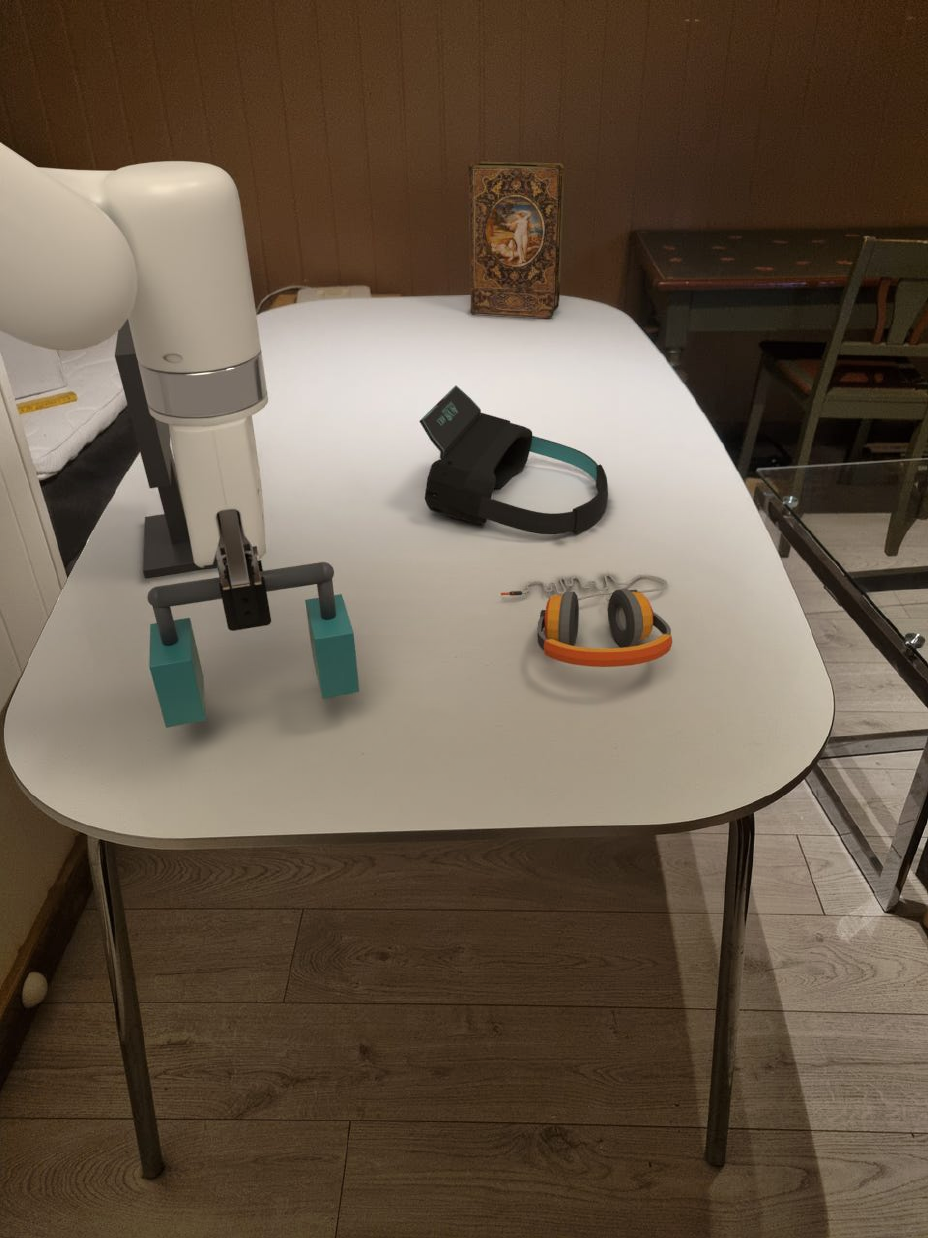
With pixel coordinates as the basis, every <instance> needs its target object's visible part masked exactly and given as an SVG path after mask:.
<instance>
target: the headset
mask: <svg viewBox="0 0 928 1238" xmlns="http://www.w3.org/2000/svg"><path fill="white" fill-rule="evenodd" d="M334 576H335V570H334V567H333V565H332V564H330V563H329V562H326V561H319V562H312V563H307V564H300V565H292V566H286V567H279V568H273V569H272V568H271V569H266V570H265V569H264V570H263V571H260V577H264V579H265V585H266V591H267V593H268V592H274V591H275V592H276V591H282V590H289V589H295V588H301V587H307V586H315V585H316V587H317V594H318V595H317V596H318V597H314V598H313V597H312V598H308V599H306V598H305V600H304V603H305V610H306V617H307V624H308V631H309V639H310V640H309V641H310V646H311V653H312V660H313V664H314V670H315V673H316V677H317V682H318V687H319V691H320V695H321V699H322V700H325V699H330V698H336V697H341V696H346V695H351V694H358V693H360V685H359V674H358V663H357V654H356V653H357V652H356V643H355V633H354V629H353V626H352V623H351V619H350V616H349V613H348V610H347V607H346V603H345V600H344V597H343V594H342V593H339V594H335V593H334V592H335V590H334V581H333V578H334ZM219 583H222V582H221V577H219V576H218V577H211V578H206V579H205V578H204V579H198V580H192V581H184V582H178V583H171V584H164V585H159V586H158V585H157V586H154V587H152V588H150V590H149V591H148V593H147V596H146V599H147V601H148V604H149V605H150V606H151V607H152V611H153V614H154V618H155V622H154V623H150V625H149V653H148V654H149V658H148V659H149V660H148V668H149V671H150V674H151V675H150V676H151V678H152V682H153V686H154V689H155V693H156V696H157V700H158V704H159V707H160V711H161V715H162V718H163V722H164V725H165V728H166V729H168V728H174V727H178V726H183V725H184V726H185V725H188V724H195V723H200V722H206V721H207V711H206V710H207V709H206V694H205V693H206V692H205V676H204V672H203V668H202V665H201V658H200V655H199V651H198V646H197V641H196V638H195V633H194V629H193V625H192V620H191V618H190V617H186V618H179V619H174V616H173V612H172V608H171V607H178V606H184V605H190V604H197V603H198V604H199V603H204V602H209V601H217V600H222V597H221V592H220V587H219Z"/></svg>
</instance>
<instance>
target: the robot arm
mask: <svg viewBox="0 0 928 1238" xmlns="http://www.w3.org/2000/svg"><path fill="white" fill-rule="evenodd" d="M241 206H242V205H241V200H240V196H239V190H238V188H237V185H236V183H235V181H234V179H233V178H232V177H231V175H230V174H229V173H228V172H227V171H226V170H224V169H223V168H221V167H219V166H217V165H214V164H212V163H207V162H199V161H190V160H189V161H188V160H169V161H168V160H166V161H153V162H144V163H137V164H131V165H126V166H123V167H122V166H121V167H120V168H117V169H116V170H98V169H97V170H93V169H92V170H91V169H69V168H67V169H66V168H53V167H41V166H40V167H39V166H36V165H35V164H33V163H32V162H30V161H29V160H27V159H26V158H25V157H23V156H21V155H20V154H18V153H17V152H16V151H14V150H12V148H10V147H8V146H7V145H5V144H3V143H2V142H1V141H0V332H2V333H4V334H6V335H9V336H10V337H12V338H15V339H16V340H19V341H21V342H23V343H26V344H29V345H32V346H35V347H39V348H44V349H47V350H54V351H65V352H70V351H79V350H85V349H88V348H92V347H95V346H98V345H100V344H102V343H103V342H105V341H107V340H109V339H110V338H112V337H113V336H114V335H116V333H118V330H120V329H121V327H122V326H123V325H124V323H125V322H126V321H127V319H128V321H129V325H130V330H131V334H132V338H133V343H134V347H135V351H136V356H137V360H138V364H139V369H140V373H141V378H142V382H143V386H144V391H145V395H146V399H147V403H148V408H149V412H150V414H151V416H152V417H154V418H155V419H156V420H159V421H161V422H164V423H167V424H169V431H170V446H171V450H172V454H173V459H174V463H175V468H176V473H177V478H178V483H179V488H180V493H181V498H182V502H183V507H184V512H185V517H186V522H187V527H188V532H189V537H190V543H191V548H192V553H193V559H194V563H195V564H196V565H197V566H199V567H201V568H204V566H206V565H213V562H214V559H215V555H216V559H217V563H218V567H217V571H218V577H221V582H222V583H219V587H220V592H221V597H222V599H221V601H222V605H223V611H224V615H225V621H226V626H227V629H228V630H229V631H232V632H234V631H236V632H237V631H242V630H247V629H254V628H260V627H266V626H269V625H270V624H271V623H272V617H271V610H270V604H269V599H268V592H267V591H266V585H265V579H264V577H260V571H264V570H263V569H264V568H263V563H262V558H263V557H264V556H265V554H266V553H267V546H266V545H267V544H266V526H265V511H264V510H265V509H264V499H263V498H264V497H263V488H262V480H261V479H262V478H261V470H260V463H259V455H258V448H257V441H256V435H255V427H254V421H253V416H254V415H255V414H257V413H259V412H261V411H262V410H264V408H266V405H268V402H269V393H268V388H267V382H266V374H265V367H264V361H263V360H264V359H263V353H262V352H263V351H262V346H261V337H260V331H259V323H258V316H257V311H256V303H255V295H254V289H253V282H252V276H251V275H252V274H251V268H250V261H249V254H248V248H247V247H248V246H247V240H246V234H245V226H244V220H243V211H242V207H241Z"/></svg>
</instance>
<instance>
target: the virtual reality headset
mask: <svg viewBox="0 0 928 1238" xmlns="http://www.w3.org/2000/svg"><path fill="white" fill-rule="evenodd" d="M418 421H419V423H420V425H421V426H422V428H423V430H424V432H425V433H426V435H427V436H428V438H429V440H430V441H431V443H432V444H433V445H434V446H435V447H436V448H437V450H438V451H439V452H440V453H439V459H437V460H435V461H434V462H433V463H432V464H431V466H430V470H429V472H428V474H427V478H426V485H425V493H424V500H425V504H426V506H427V507H428V509H429V511H432V512H435V513H438V514H441V515H444V516H447V517H450V518H454V519H457V520H460V521H462V520H463V521H467V522H470V523H472V524H477V525H485V524H486V523H487V521H490V522H494V523H496V524H499V525H502V526H506V527H509V528H512V529H515V530H519V531H524V532H526V533H532V534H537V535H548V536H549V535H563V534H568V533H569V534H570V533H572V534H574V535H576V534H579V533H581V532H584V531H585V530H587V529H590V528H592V527H593V526H595V524H597V523H598V522H599V521H600V520H601V519H602V518H603V516H604V514H605V513H606V509H607V506H608V498H609V485H608V478H607V474H606V471H605V469H604V467H603V465H602V464H598V463H597V462H596V460H594V459H593V458H592V457H591V456H589V455H588V454H586V452H582V451H581V450H578V449H576V448H574V447H571V446H569V445H565V444H562V443H559V442H555V441H552V440H549V439H546V438H541V437H538V436H536V435H533V431H532V430H531V428H528V427H526V426H523V425H520V424H516V423H513V422H511V420H509V419H506V418H502V417H498V416H495V415H491V414H488V413H484V412H482V409H481V408H480V407H479V405H477V403H476V402H475V401H474V400H473V399H472V398H471V397H470V396H469V395H467V393H465V392H464V391H463V390H462V389H461V388H460V387H459V386H458V385H455V386H453V387H452V388H451V389H450V390H449V391H448V392H447V393H446V394H445V395H444V396H443V397H442V398H441V399H440V400H439V401H438V402H437V403H436V404H435V405H434V406H433V407H431V409H430V410H429V411H428V412H427V413H426V414H425V415H424V416H422V418H421V419H420V420H418ZM530 453H534V454H537V455H540V456H545V457H547V458H550V459H554V460H558V461H560V462H563V463H566V464H569V465H571V466H574V467H576V468H577V469H580V470H582V471H583V472H584V473H586V474H587V475H589V476H590V477H591V478H592V479H593V480H594V481H595V487H596V489H597V491H598V492H597V494H596V495H595V496H593V497H592V498H591V499H590V500H589V501H587V502H585V503H583V504H580V505H578V506H576V507H574V508H572V511H567V512H558V513H557V512H556V513H552V512H551V513H549V512H542V511H541V512H539V511H535V510H531V509H526V508H523V507H520V506H515V505H513V504H508V503H505V502H502V501H499V500H496V499H493V498H492V495H493V492H494V490H495V489H497V490H498V489H502V488H504V486H505V485H506V484H507V483H508V482H509V481H510V480H511V479H512V478H513V477H514V476H515V475H517V474H519V473H520V472H522V471H523V470H524V469H525V467H526V464H527V462H528V459H529V455H530Z"/></svg>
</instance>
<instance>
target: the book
mask: <svg viewBox="0 0 928 1238" xmlns="http://www.w3.org/2000/svg"><path fill="white" fill-rule="evenodd" d="M467 166H468V167H467V168H468V169H467V170H468V216H469V218H468V219H469V220H468V221H469V223H468V224H469V225H468V226H469V227H468V228H469V277H470V279H469V280H470V281H469V282H470V286H469V287H470V313H471V314H472V315H474V316H475V315H476V316H492V317H493V316H494V317H507V318H508V317H509V318H521V319H522V318H523V319H551V318H552V317H553V315H554V312H555V311H556V310H558V307H559V305H560V293H561V289H560V288H561V269H562V267H561V265H562V242H563V241H562V238H563V215H564V214H563V212H564V211H563V210H564V189H565V188H564V183H565V167H564V165H563V164H562V163H559V162H558V163H556V162H553V163H552V162H512V161H511V162H510V161H509V162H506V161H505V162H504V161H503V162H502V161H476V162H471V163H469V164H468V165H467Z"/></svg>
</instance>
